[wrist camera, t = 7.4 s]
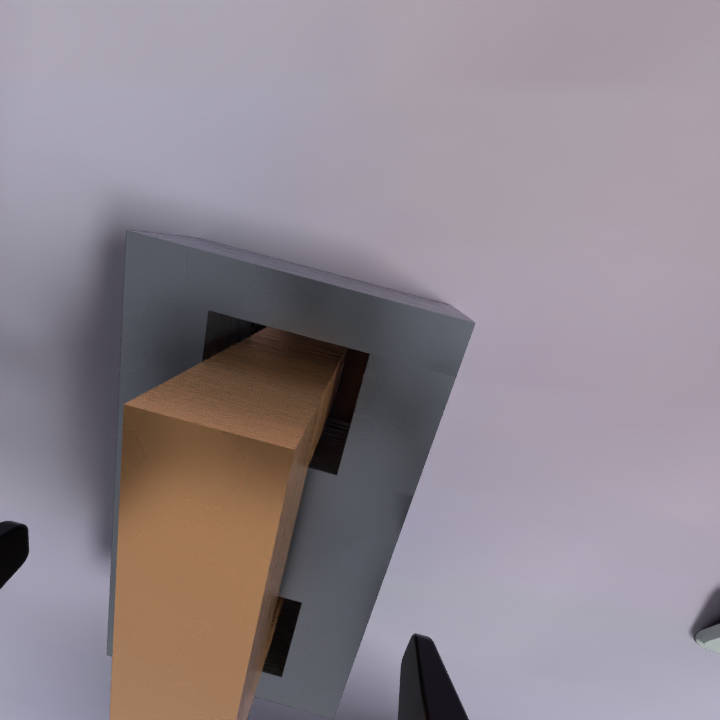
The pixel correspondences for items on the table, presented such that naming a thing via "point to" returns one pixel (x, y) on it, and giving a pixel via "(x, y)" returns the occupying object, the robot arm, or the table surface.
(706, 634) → the metal bracket
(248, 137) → the table surface
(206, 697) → the clip
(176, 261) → the slotted plate
